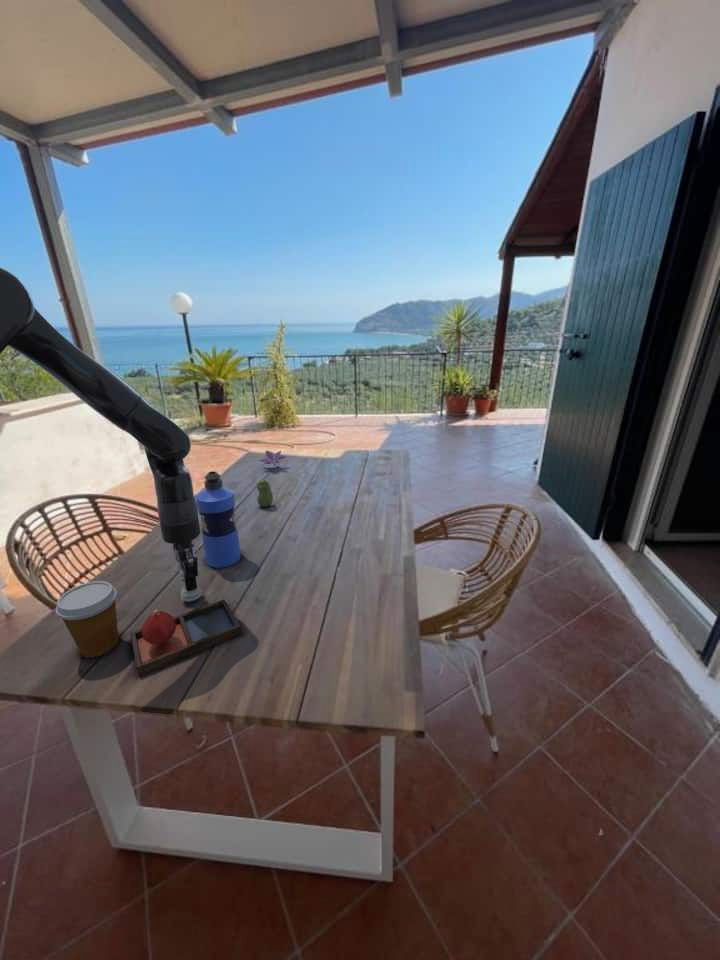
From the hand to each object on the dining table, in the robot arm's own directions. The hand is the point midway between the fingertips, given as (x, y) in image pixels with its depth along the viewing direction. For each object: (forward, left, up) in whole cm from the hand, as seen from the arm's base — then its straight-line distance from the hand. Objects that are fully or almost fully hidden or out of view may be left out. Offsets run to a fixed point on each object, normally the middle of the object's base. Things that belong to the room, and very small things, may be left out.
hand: (189, 585), depth 88 cm
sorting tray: (-4, -12, -4) cm, 13 cm away
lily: (+54, +79, -4) cm, 95 cm away
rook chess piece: (0, 0, -3) cm, 3 cm away
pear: (+34, +41, -4) cm, 54 cm away
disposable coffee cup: (-18, -4, -4) cm, 19 cm away
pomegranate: (-8, -12, -4) cm, 15 cm away
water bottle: (+11, +14, -4) cm, 19 cm away
